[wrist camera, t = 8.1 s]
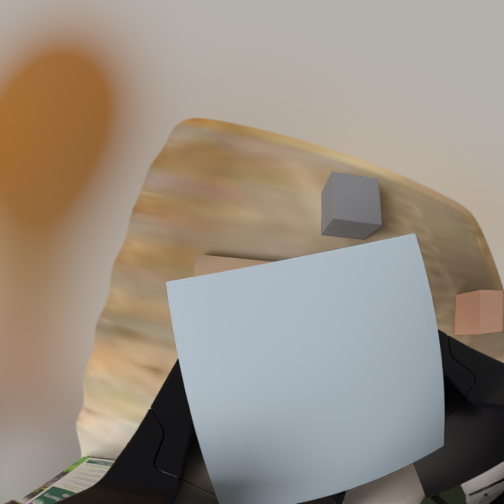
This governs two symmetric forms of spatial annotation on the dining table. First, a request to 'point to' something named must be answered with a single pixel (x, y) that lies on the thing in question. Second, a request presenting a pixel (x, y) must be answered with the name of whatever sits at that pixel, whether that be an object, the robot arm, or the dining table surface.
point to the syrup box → (70, 481)
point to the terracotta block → (479, 312)
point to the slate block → (311, 370)
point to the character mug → (448, 497)
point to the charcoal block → (350, 206)
